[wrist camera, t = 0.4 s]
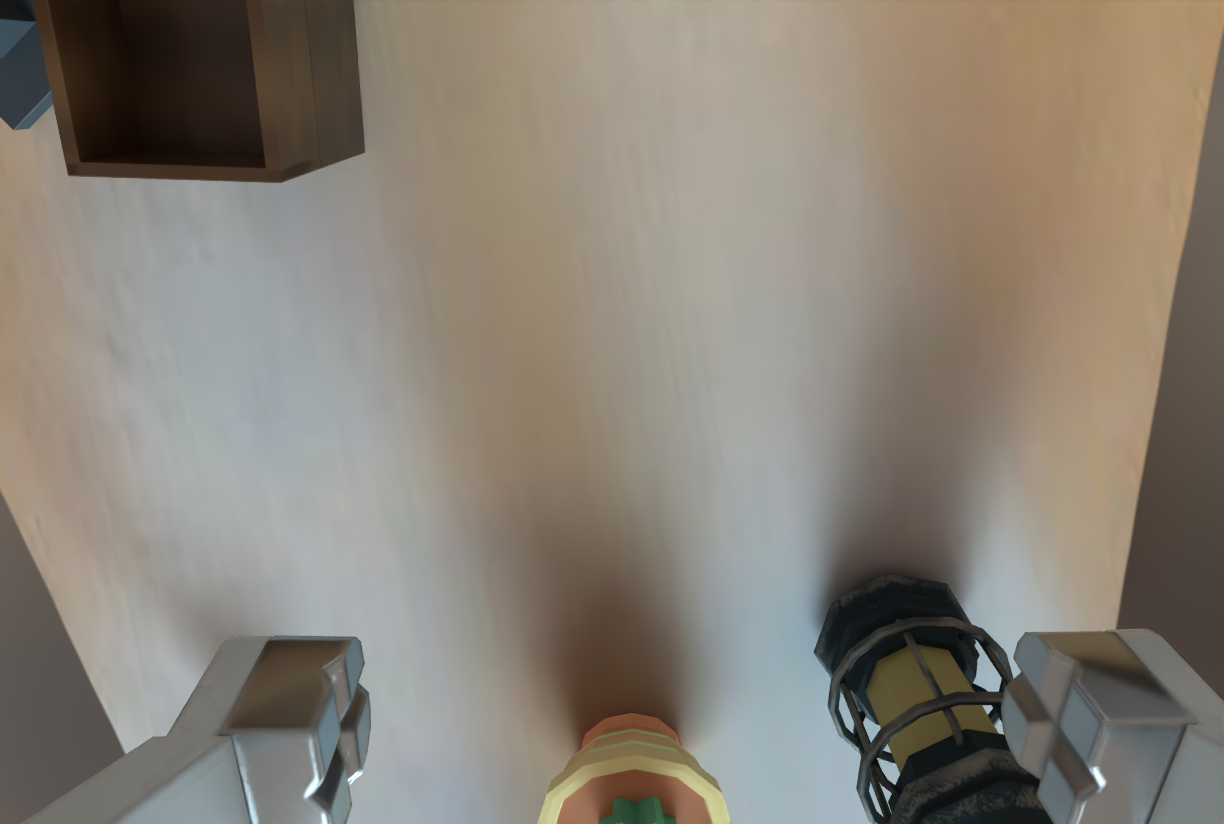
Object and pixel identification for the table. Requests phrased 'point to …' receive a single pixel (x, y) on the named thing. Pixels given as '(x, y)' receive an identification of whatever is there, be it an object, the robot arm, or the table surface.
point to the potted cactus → (633, 779)
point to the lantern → (923, 707)
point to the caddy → (202, 87)
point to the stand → (21, 66)
